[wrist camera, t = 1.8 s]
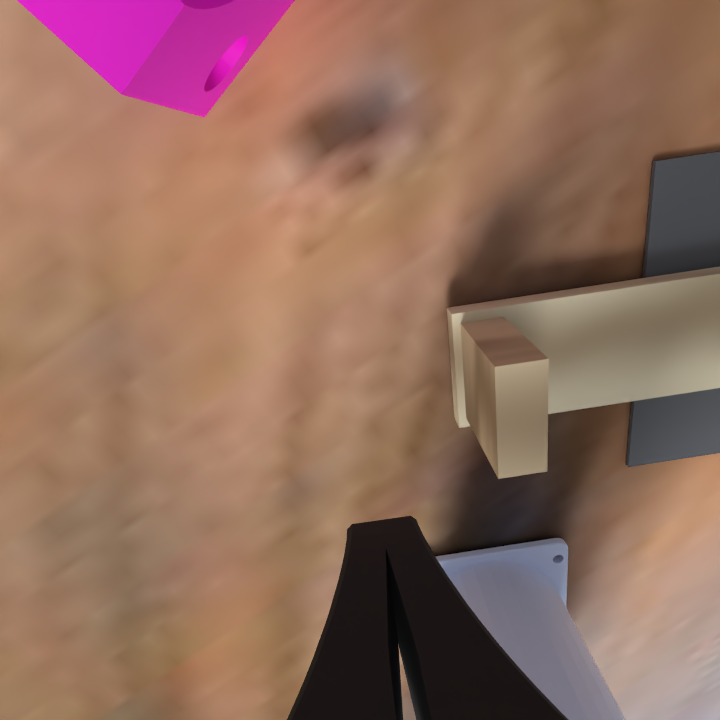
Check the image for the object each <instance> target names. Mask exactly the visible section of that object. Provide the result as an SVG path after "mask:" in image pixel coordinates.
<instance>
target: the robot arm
mask: <svg viewBox="0 0 720 720" xmlns="http://www.w3.org/2000/svg"><path fill="white" fill-rule="evenodd" d="M557 555H558V556H557ZM555 556H557V557H555ZM567 572H568V546H567V544H566V542H565V541H564V540H563V539H561V538H552V539H546V540H539V541H533V542H526V543H520V544H513V545H507V546H500V547H494V548H487V549H481V550H475V551H468V552H462V553H455V554H449V555H442V556H436V557H435V555H434V553H433V552H432V550H431V548H430V547H429V545H428V543H427V541H426V539H425V538H424V536H423V534H422V532H421V530H420V528H419V525H418V523H417V520H416V519H414V518H413V517H411V516H406V517H399V518H392V519H385V520H378V521H371V522H364V523H357V524H352V525H351V526H350V527H349V528H348V529H347V541H346V548H345V554H344V559H343V564H342V568H341V572H340V576H339V580H338V584H337V587H336V591H335V594H334V598H333V601H332V605H331V608H330V611H329V615H328V618H327V621H326V624H325V626H324V629H323V632H322V635H321V638H320V640H319V643H318V646H317V649H316V651H315V654H314V657H313V660H312V662H311V665H310V667H309V670H308V672H307V675H306V677H305V680H304V682H303V685H302V687H301V689H300V692H299V694H298V696H297V698H296V701H295V703H294V705H293V707H292V710H291V712H290V714H289V716H288V719H287V720H403V712H402V696H401V680H400V664H399V648H400V653H401V657H402V661H403V665H404V669H405V674H406V678H407V682H408V686H409V690H410V695H411V699H412V703H413V707H414V711H415V715H416V720H625V718H624V716H623V714H622V712H621V710H620V708H619V706H618V705H617V703H616V701H615V699H614V697H613V695H612V693H611V691H610V689H609V687H608V686H607V684H606V682H605V680H604V678H603V676H602V674H601V672H600V670H599V669H598V667H597V665H596V663H595V661H594V659H593V657H592V655H591V653H590V652H589V650H588V648H587V646H586V644H585V642H584V640H583V638H582V636H581V634H580V633H579V631H578V629H577V627H576V625H575V623H574V621H573V619H572V617H571V616H570V614H569V612H568V610H567V608H566V599H567ZM398 644H399V648H398Z"/></svg>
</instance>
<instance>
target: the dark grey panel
mask: <svg viewBox="0 0 720 720" xmlns="http://www.w3.org/2000/svg"><path fill="white" fill-rule="evenodd" d="M713 267H720V151H717V152H711V153H704V154H697V155H691V156H684V157H677V158H671V159H664V160H657V161H652V172H651V184H650V195H649V207H648V218H647V229H646V241H645V252H644V264H643V275H642V278H647V277H654V276H661V275H667V274H674V273H680V272H687V271H694V270H700V269H707V268H713ZM715 453H720V388H716V389H709V390H703V391H696V392H690V393H683V394H677V395H670V396H664V397H657V398H651V399H644V400H638V401H631V412H630V423H629V434H628V446H627V457H626V465H627V466H628V467H631V466H637V465H644V464H650V463H657V462H663V461H670V460H676V459H683V458H689V457H696V456H702V455H709V454H715Z"/></svg>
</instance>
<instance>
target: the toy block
mask: <svg viewBox="0 0 720 720" xmlns="http://www.w3.org/2000/svg"><path fill="white" fill-rule="evenodd" d="M17 1H18V2H19V3H21V4H22V5H23V6H24V7H25V8H26V9H27V10H28V11H29V12H31V13H32V14H33V15H34V16H35V17H36V18H37V19H38V20H39V21H41V22H42V23H43V24H44V25H45V26H46V27H47V28H48V29H49V30H51V31H52V32H53V33H54V34H55V35H56V36H57V37H58V38H59V39H61V40H62V41H63V42H64V43H65V44H66V45H67V46H68V47H69V48H70V49H72V50H73V51H74V52H75V53H76V54H77V55H78V56H79V57H80V58H82V59H83V60H84V61H85V62H86V63H87V64H88V65H89V66H90V67H92V68H93V69H94V70H95V71H96V72H97V73H98V74H99V75H100V76H102V77H103V78H104V79H105V80H106V81H107V82H108V83H109V84H110V85H111V86H113V87H114V88H115V89H116V90H117V91H118V92H119V93H120V94H122V95H125V96H129V97H133V98H136V99H140V100H143V101H147V102H151V103H154V104H158V105H162V106H165V107H169V108H173V109H176V110H180V111H183V112H187V113H191V114H194V115H198V116H202V117H205V116H206V115H207V113H208V112H209V111H210V110H211V108H212V107H213V106H214V104H215V103H216V102H217V100H218V99H219V98H220V97H221V95H222V94H223V93H224V91H225V90H226V89H227V87H228V86H229V85H230V84H231V82H232V81H233V80H234V78H235V77H236V76H237V74H238V73H239V72H240V71H241V69H242V68H243V67H244V65H245V64H246V63H247V61H248V60H249V59H250V58H251V56H252V55H253V54H254V52H255V51H256V50H257V49H258V47H259V46H260V45H261V43H262V42H263V41H264V39H265V38H266V37H267V36H268V34H269V33H270V32H271V30H272V29H273V28H274V26H275V25H276V24H277V23H278V21H279V20H280V19H281V17H282V16H283V15H284V13H285V12H286V11H287V10H288V8H289V7H290V6H291V4H292V3H293V2H294V0H17Z"/></svg>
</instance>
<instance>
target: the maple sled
mask: <svg viewBox="0 0 720 720" xmlns="http://www.w3.org/2000/svg"><path fill="white" fill-rule="evenodd" d="M447 319H448V333H449V347H450V361H451V375H452V389H453V403H454V417H455V420H456V422H457V424H458V426H459V428H461V427H468V426H471V428H472V430H473V432H474V434H475V436H476V437H477V439H478V441H479V443H480V445H481V447H482V449H483V451H484V453H485V455H486V456H487V458H488V460H489V462H490V464H491V466H492V468H493V470H494V472H495V473H496V475H497V477H498V479H502V478H508V477H515V476H521V475H528V474H534V473H541V472H547V453H548V414H553V413H559V412H566V411H572V410H579V409H585V408H592V407H598V406H605V405H611V404H618V403H624V402H631V401H638V400H644V399H651V398H657V397H664V396H670V395H677V394H683V393H690V392H696V391H703V390H709V389H716V388H720V267H713V268H707V269H700V270H694V271H687V272H680V273H674V274H667V275H661V276H654V277H647V278H641V279H634V280H628V281H621V282H614V283H608V284H601V285H595V286H588V287H581V288H575V289H568V290H561V291H555V292H548V293H542V294H535V295H528V296H522V297H515V298H509V299H502V300H495V301H489V302H482V303H476V304H469V305H462V306H456V307H449V308H447Z"/></svg>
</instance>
